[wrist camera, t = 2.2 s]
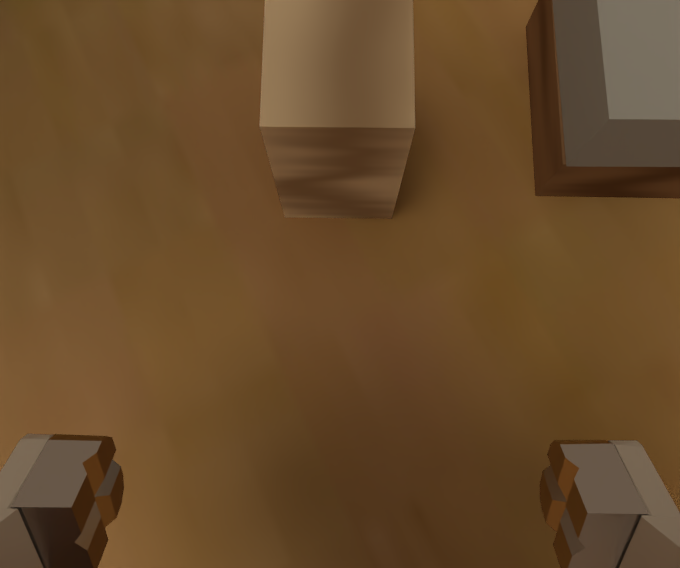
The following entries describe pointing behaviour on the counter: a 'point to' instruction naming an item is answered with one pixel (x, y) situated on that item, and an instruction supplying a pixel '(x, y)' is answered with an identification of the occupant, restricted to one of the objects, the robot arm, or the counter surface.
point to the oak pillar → (338, 104)
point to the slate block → (619, 81)
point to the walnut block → (550, 136)
